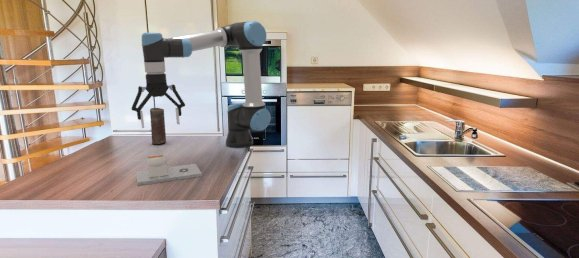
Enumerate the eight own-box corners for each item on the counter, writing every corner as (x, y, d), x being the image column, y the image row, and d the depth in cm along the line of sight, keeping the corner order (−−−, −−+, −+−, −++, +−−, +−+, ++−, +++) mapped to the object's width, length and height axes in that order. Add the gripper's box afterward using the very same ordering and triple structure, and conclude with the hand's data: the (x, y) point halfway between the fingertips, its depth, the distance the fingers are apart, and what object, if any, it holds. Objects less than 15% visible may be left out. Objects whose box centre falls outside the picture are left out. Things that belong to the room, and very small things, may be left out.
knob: (166, 170, 138) (164, 152, 136) (168, 175, 132) (166, 156, 130) (148, 172, 135) (146, 154, 133) (149, 177, 129) (147, 159, 127)
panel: (195, 166, 147) (195, 157, 146) (201, 176, 134) (201, 166, 133) (136, 174, 136) (135, 164, 135) (137, 185, 124) (136, 175, 123)
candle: (161, 141, 190) (158, 107, 186) (169, 143, 186) (166, 108, 182) (149, 143, 184) (146, 108, 180) (157, 145, 180) (154, 109, 176)
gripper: (186, 71, 139) (190, 120, 143) (120, 74, 128) (127, 127, 133) (189, 72, 132) (193, 123, 137) (120, 75, 121) (127, 130, 126)
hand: (161, 125), depth 135 cm, fingers open, 13 cm apart
